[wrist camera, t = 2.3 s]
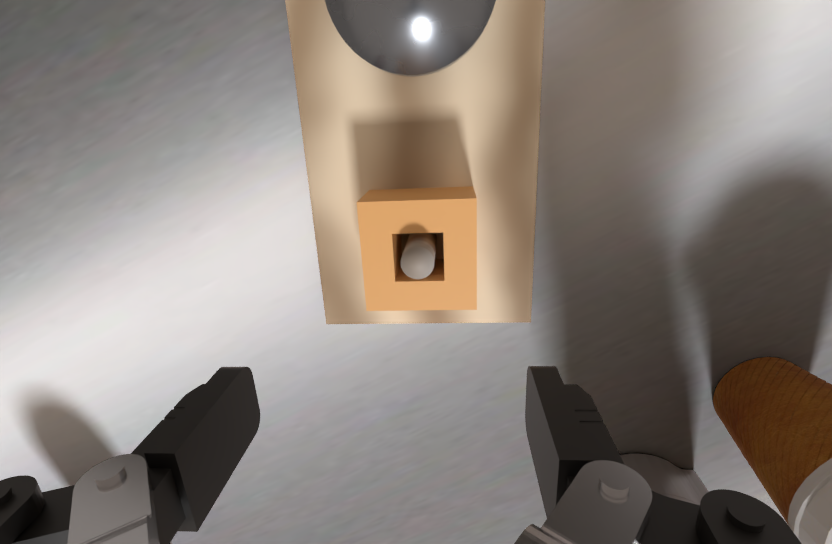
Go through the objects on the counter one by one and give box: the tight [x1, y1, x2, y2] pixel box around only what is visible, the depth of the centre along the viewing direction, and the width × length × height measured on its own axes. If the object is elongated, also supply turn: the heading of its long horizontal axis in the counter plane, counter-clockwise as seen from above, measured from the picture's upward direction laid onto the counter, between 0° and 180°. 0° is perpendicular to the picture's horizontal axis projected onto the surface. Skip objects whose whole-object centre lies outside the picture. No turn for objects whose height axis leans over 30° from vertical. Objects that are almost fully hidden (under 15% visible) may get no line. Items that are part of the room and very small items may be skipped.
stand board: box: [285, 0, 545, 324], centre depth 25 cm, size 14×26×7 cm, turn 3°
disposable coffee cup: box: [713, 357, 832, 544], centre depth 27 cm, size 10×10×12 cm
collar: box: [356, 186, 477, 311], centre depth 26 cm, size 6×6×4 cm
